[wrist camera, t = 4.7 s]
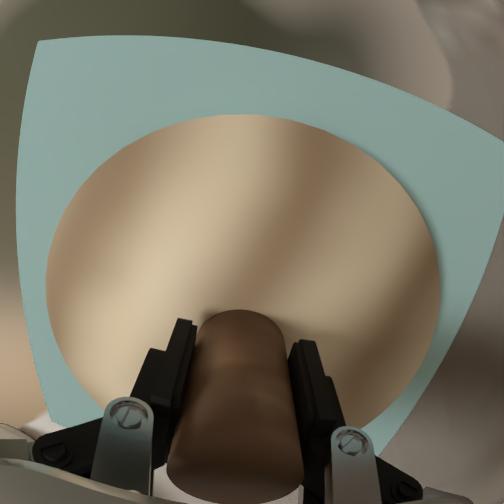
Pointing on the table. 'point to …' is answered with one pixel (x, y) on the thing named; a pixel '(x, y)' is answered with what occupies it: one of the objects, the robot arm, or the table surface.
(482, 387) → the table surface
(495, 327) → the table surface
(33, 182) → the rubber mat
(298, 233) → the maple lid
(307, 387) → the robot arm
